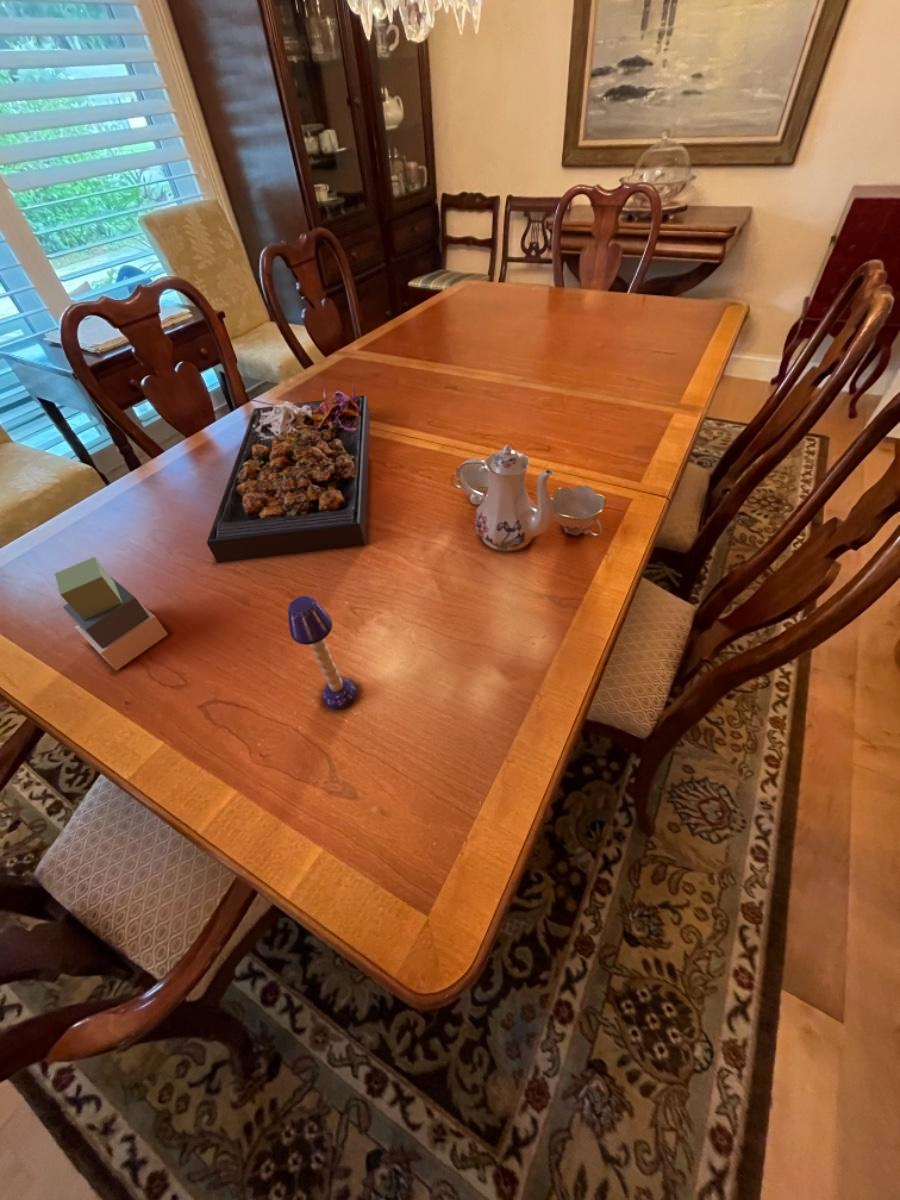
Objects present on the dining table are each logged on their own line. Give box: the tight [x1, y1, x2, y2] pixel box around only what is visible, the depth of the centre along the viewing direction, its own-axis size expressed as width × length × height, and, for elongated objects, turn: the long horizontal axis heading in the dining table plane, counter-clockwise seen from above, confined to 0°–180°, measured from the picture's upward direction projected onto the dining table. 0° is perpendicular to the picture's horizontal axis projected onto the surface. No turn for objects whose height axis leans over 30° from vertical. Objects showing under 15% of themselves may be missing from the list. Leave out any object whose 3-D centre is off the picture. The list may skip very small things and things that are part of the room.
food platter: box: [206, 382, 371, 563], centre depth 100 cm, size 45×25×10 cm, turn 5°
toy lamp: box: [287, 595, 357, 710], centre depth 62 cm, size 5×5×17 cm
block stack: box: [62, 576, 168, 671], centre depth 75 cm, size 8×8×8 cm
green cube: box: [54, 556, 122, 621], centre depth 70 cm, size 5×5×5 cm
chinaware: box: [450, 444, 607, 553], centre depth 83 cm, size 28×17×17 cm, turn 62°
